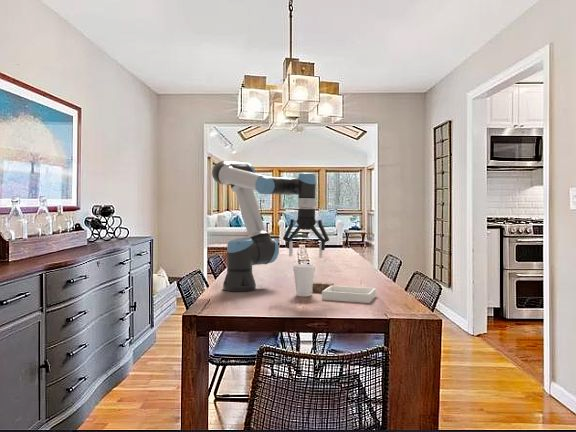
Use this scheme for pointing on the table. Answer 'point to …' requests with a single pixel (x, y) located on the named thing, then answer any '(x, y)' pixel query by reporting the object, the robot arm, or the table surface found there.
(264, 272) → the table surface
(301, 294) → the foam cup
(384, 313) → the table surface
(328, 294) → the tray
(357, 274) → the table surface
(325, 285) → the walnut block
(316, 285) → the walnut block
